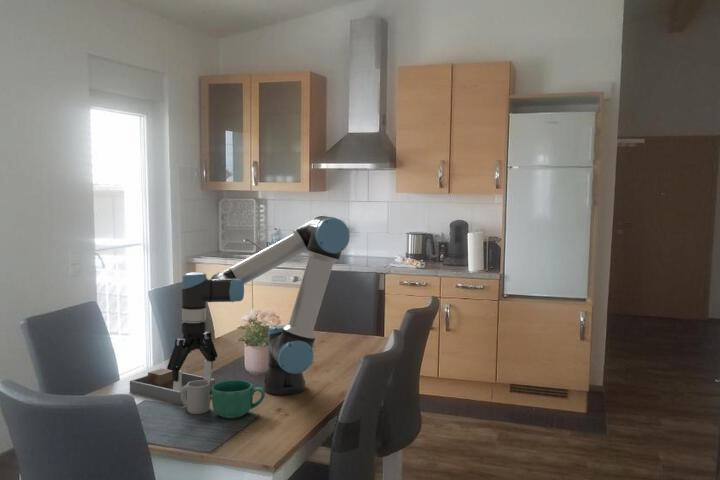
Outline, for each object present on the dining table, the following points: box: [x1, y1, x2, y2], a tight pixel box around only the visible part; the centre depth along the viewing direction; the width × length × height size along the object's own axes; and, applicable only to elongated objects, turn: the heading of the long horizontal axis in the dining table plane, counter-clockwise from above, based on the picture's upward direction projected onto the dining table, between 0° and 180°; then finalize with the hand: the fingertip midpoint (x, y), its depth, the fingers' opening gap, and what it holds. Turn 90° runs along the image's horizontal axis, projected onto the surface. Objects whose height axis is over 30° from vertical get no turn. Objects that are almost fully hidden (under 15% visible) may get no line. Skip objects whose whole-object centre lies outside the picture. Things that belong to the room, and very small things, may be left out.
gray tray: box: [129, 368, 216, 405], centre depth 219 cm, size 24×17×4 cm
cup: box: [181, 380, 211, 415], centre depth 202 cm, size 7×10×9 cm
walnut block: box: [147, 368, 173, 389], centre depth 222 cm, size 6×6×6 cm
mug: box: [211, 379, 266, 419], centre depth 198 cm, size 17×13×10 cm
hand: (193, 385), depth 201 cm, fingers open, 13 cm apart
